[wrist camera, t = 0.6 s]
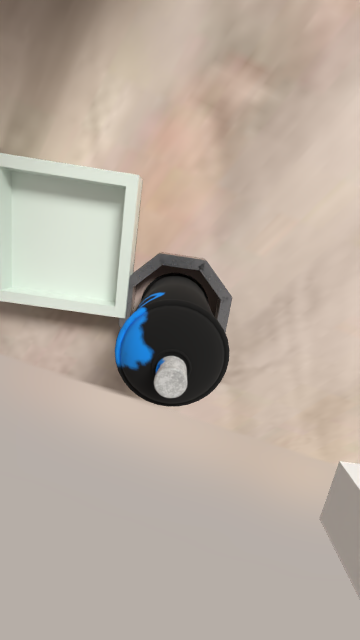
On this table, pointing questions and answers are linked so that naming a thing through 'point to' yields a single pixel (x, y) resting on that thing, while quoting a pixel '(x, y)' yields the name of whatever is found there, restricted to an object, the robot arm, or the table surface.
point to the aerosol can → (172, 344)
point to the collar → (187, 263)
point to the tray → (67, 235)
